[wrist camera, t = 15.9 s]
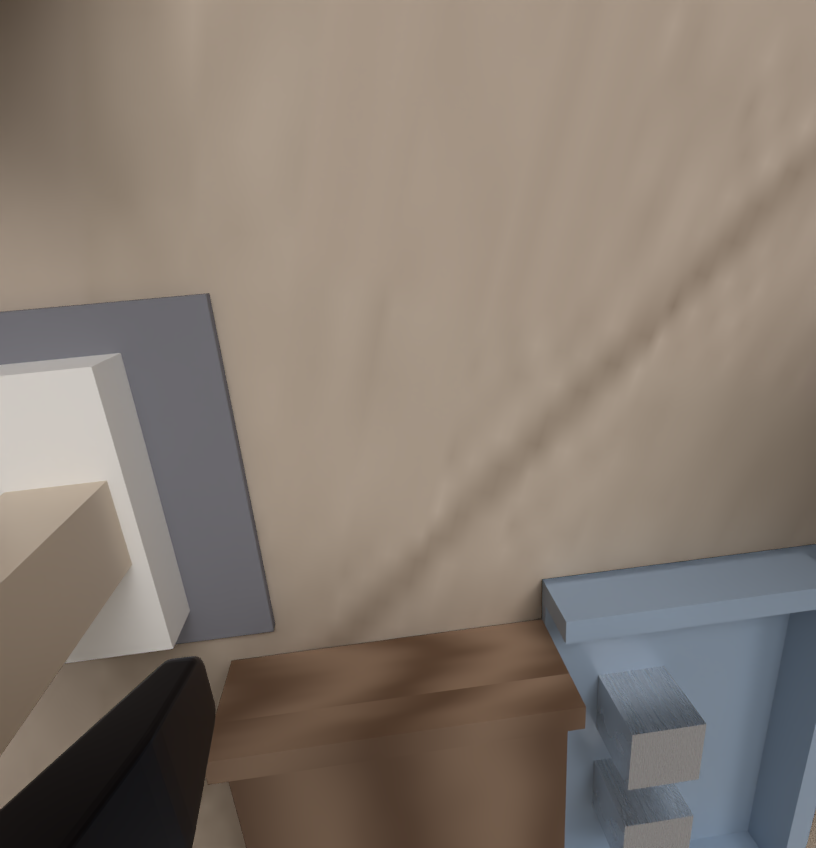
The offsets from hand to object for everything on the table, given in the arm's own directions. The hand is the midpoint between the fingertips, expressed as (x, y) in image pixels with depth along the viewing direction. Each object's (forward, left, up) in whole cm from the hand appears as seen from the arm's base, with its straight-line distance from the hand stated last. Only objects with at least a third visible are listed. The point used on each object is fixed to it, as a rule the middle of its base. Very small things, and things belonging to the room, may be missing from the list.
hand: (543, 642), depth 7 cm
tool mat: (+12, +2, -12) cm, 17 cm away
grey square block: (-7, +20, -11) cm, 24 cm away
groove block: (+2, +17, -12) cm, 21 cm away
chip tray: (-10, +17, -12) cm, 24 cm away
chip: (-7, +15, -11) cm, 19 cm away
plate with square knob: (+12, +3, -12) cm, 17 cm away
